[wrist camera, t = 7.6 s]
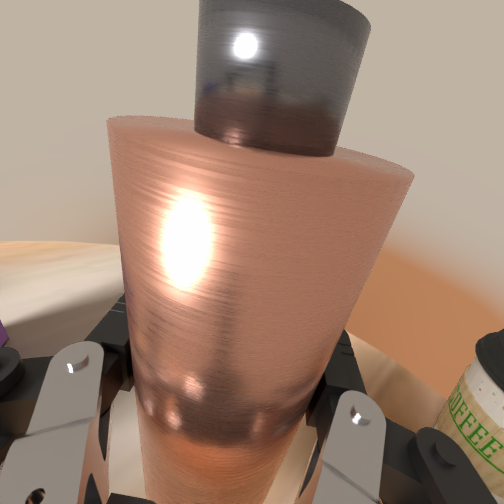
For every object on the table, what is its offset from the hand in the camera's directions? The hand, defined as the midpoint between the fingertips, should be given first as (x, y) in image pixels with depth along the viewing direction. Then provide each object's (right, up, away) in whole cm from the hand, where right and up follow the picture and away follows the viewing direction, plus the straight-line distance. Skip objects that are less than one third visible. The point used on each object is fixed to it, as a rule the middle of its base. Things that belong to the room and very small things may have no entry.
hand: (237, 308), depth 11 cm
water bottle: (-2, -9, +2) cm, 9 cm away
